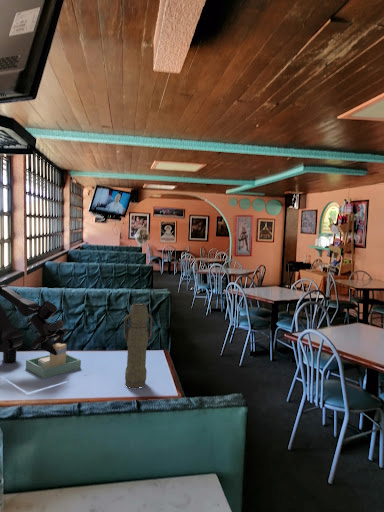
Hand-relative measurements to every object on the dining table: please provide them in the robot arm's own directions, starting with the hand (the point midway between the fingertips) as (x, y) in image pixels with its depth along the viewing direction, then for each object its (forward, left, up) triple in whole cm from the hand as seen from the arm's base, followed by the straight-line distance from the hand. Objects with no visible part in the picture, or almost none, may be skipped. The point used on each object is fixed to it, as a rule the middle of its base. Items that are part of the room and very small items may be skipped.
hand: (60, 352), depth 163 cm
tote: (-5, -1, -9) cm, 10 cm away
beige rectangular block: (-9, -1, -8) cm, 12 cm away
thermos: (+33, +15, -9) cm, 38 cm away
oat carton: (-1, -1, -7) cm, 7 cm away
